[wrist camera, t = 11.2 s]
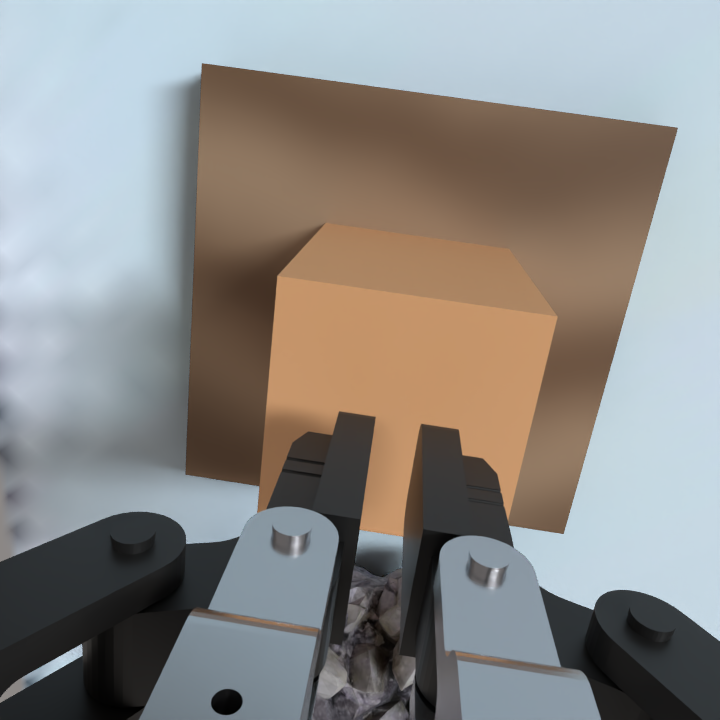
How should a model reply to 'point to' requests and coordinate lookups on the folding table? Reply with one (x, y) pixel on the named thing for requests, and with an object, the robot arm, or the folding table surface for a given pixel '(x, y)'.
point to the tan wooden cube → (405, 355)
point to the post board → (419, 218)
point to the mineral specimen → (368, 656)
